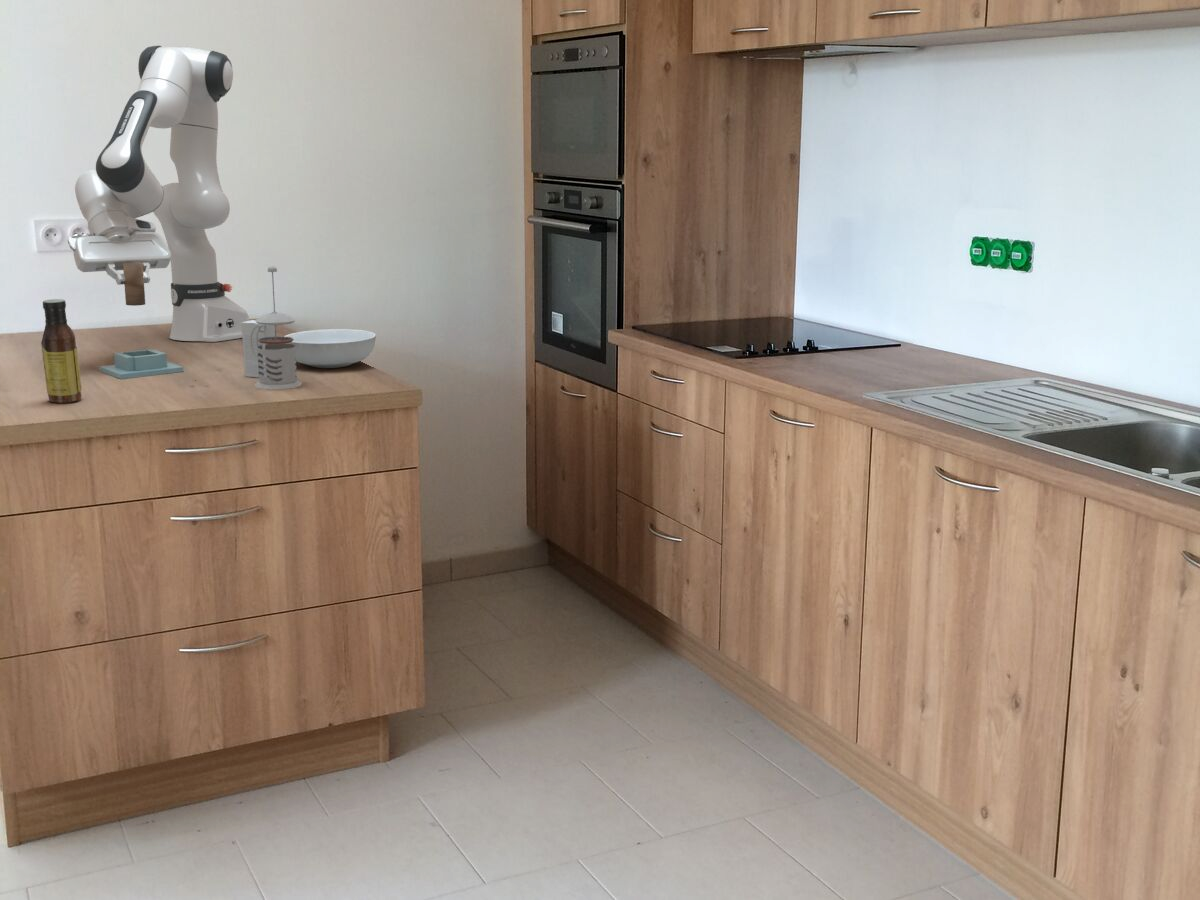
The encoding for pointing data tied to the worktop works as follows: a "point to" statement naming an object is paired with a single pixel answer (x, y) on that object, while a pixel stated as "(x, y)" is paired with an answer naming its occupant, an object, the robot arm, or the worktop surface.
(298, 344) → the serving bowl
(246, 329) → the skincare box
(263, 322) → the french press
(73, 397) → the sauce bottle
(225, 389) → the worktop surface
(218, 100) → the robot arm
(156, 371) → the holder
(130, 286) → the brown cylinder
